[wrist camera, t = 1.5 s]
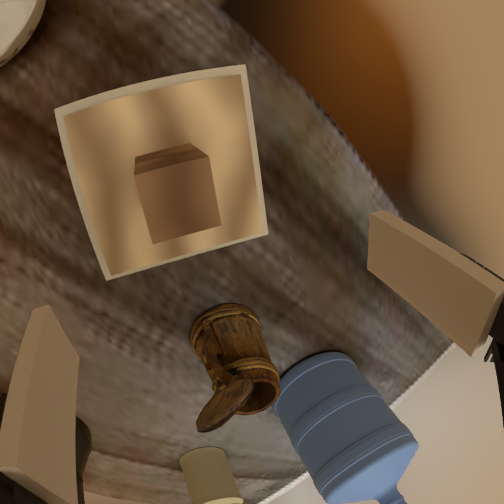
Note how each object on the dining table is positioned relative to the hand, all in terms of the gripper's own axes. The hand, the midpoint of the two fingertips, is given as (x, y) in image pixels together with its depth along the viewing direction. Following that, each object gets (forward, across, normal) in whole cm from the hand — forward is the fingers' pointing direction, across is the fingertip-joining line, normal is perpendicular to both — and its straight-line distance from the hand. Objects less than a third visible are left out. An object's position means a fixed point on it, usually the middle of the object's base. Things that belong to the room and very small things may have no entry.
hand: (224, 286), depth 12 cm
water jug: (+21, +14, -39) cm, 46 cm away
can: (+21, -9, -52) cm, 57 cm away
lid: (+20, 0, 0) cm, 20 cm away
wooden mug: (+21, +1, -19) cm, 28 cm away
